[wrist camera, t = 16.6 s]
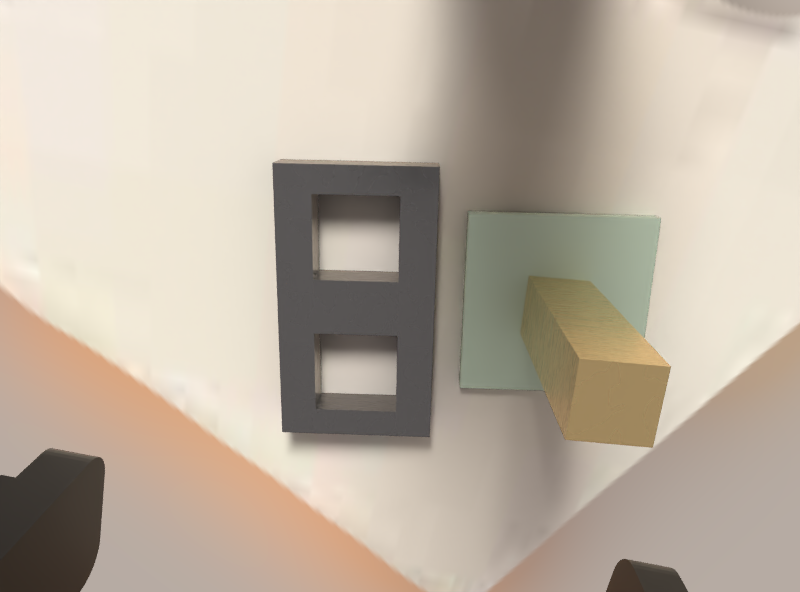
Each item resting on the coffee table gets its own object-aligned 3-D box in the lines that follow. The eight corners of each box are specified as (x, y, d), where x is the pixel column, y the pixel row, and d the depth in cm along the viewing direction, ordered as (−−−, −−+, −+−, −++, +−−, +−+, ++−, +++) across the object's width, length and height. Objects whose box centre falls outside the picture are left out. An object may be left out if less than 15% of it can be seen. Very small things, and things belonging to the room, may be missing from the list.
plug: (528, 275, 42) (579, 358, 28) (590, 280, 41) (670, 366, 28) (520, 333, 43) (565, 439, 29) (580, 338, 43) (652, 447, 29)
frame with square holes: (281, 159, 41) (272, 162, 38) (438, 162, 41) (439, 166, 38) (289, 414, 46) (282, 431, 44) (429, 419, 46) (429, 436, 43)
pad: (467, 211, 41) (469, 213, 40) (655, 215, 41) (661, 218, 40) (459, 381, 45) (459, 387, 44) (632, 387, 45) (636, 393, 44)
